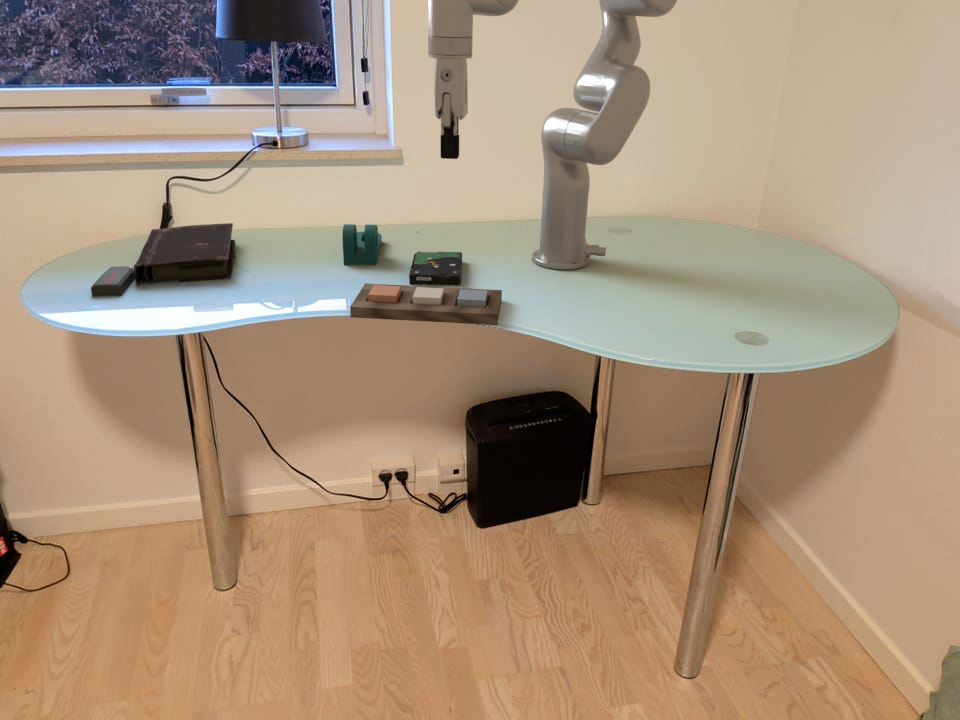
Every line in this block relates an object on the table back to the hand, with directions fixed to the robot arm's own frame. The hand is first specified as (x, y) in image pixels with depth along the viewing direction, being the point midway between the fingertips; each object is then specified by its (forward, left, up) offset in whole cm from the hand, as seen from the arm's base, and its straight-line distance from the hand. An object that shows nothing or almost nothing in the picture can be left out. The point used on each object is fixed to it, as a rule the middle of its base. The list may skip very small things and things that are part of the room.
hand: (449, 157), depth 135 cm
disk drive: (+4, -9, -26) cm, 27 cm away
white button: (+3, +11, -26) cm, 28 cm away
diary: (+56, -8, -26) cm, 62 cm away
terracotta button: (+11, +11, -26) cm, 30 cm away
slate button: (-5, +11, -26) cm, 29 cm away
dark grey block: (+64, +7, -26) cm, 69 cm away
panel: (+3, +11, -25) cm, 28 cm away
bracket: (+21, -20, -26) cm, 39 cm away
